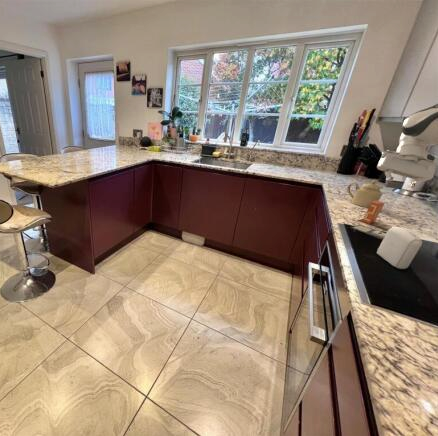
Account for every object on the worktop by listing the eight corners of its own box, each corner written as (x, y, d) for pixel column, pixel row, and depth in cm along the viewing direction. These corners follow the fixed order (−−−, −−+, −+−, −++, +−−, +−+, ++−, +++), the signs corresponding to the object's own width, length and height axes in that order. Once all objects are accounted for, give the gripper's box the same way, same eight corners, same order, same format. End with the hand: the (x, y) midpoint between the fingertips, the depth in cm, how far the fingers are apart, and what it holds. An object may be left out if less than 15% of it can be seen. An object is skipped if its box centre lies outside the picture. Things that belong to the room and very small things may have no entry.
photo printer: (373, 252, 87) (389, 222, 82) (386, 253, 87) (403, 224, 81) (394, 268, 78) (413, 236, 73) (409, 270, 78) (429, 238, 72)
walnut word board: (413, 236, 101) (415, 232, 100) (405, 239, 98) (407, 236, 97) (364, 219, 115) (366, 216, 114) (355, 222, 112) (357, 218, 111)
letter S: (374, 222, 111) (384, 202, 106) (369, 223, 109) (379, 204, 104) (367, 219, 113) (376, 200, 109) (361, 221, 111) (371, 201, 107)
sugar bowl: (343, 203, 137) (354, 178, 130) (342, 198, 145) (352, 174, 139) (377, 209, 129) (390, 183, 123) (373, 203, 138) (385, 179, 131)
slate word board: (410, 245, 93) (413, 241, 93) (401, 249, 90) (404, 245, 89) (358, 226, 108) (360, 222, 107) (349, 229, 105) (351, 225, 104)
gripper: (390, 146, 103) (381, 175, 102) (441, 159, 100) (433, 189, 99) (377, 151, 109) (369, 179, 108) (426, 164, 106) (418, 192, 105)
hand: (400, 184), depth 103 cm, fingers open, 8 cm apart
